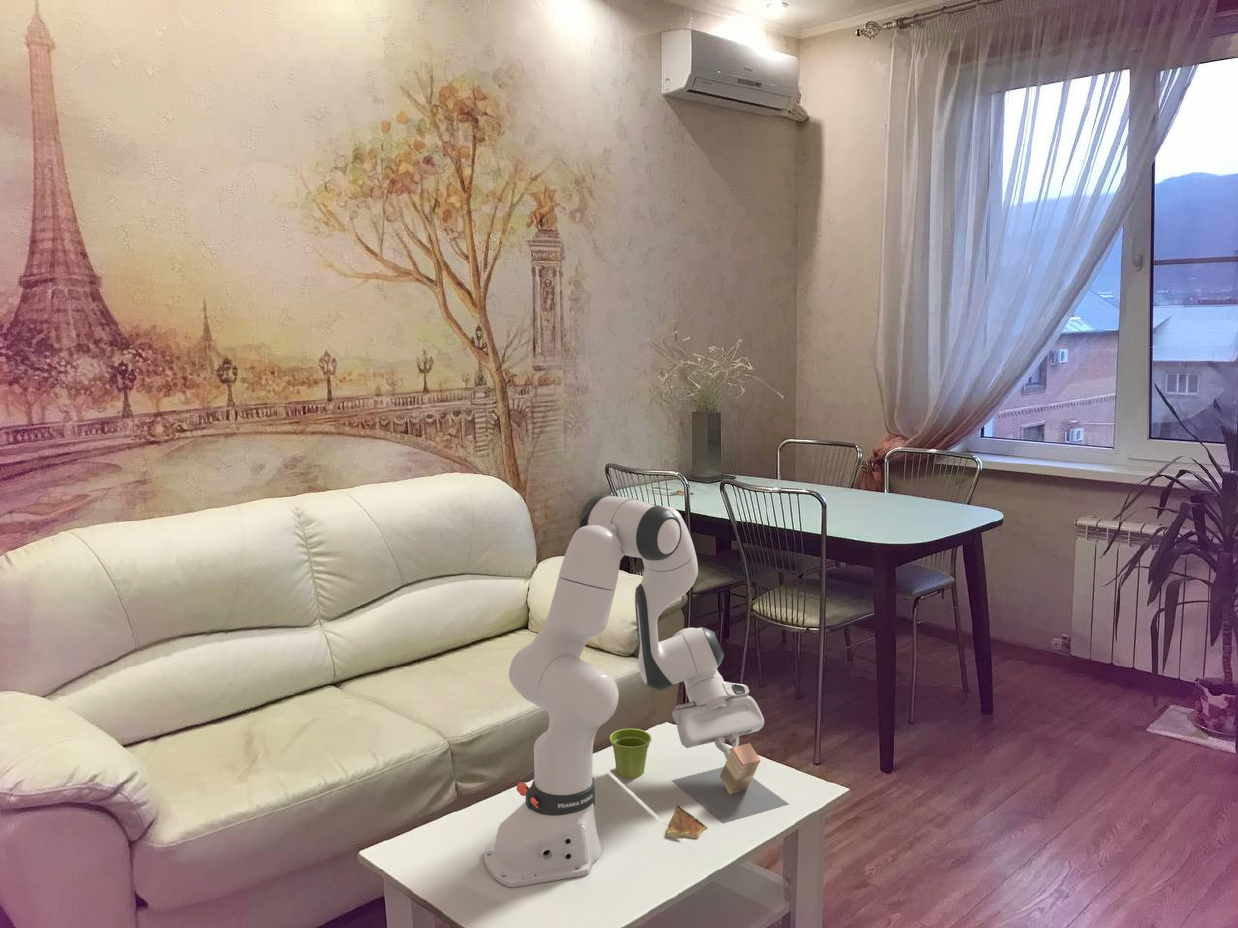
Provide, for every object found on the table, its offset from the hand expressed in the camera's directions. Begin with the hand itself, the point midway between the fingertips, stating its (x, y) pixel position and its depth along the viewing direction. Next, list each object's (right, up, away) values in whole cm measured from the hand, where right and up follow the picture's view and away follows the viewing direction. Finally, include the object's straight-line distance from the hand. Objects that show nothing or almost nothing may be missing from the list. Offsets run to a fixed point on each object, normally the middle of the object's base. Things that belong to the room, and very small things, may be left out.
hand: (734, 757), depth 203 cm
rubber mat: (-1, -8, 0) cm, 8 cm away
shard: (-13, -11, -13) cm, 21 cm away
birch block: (0, -6, +1) cm, 6 cm away
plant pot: (-22, -7, +9) cm, 25 cm away
